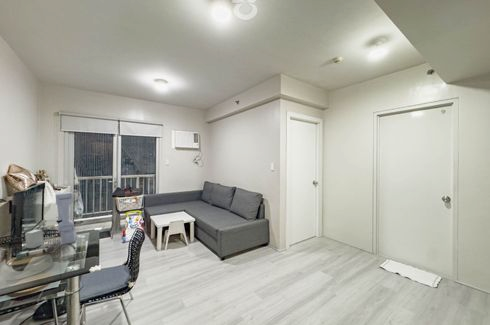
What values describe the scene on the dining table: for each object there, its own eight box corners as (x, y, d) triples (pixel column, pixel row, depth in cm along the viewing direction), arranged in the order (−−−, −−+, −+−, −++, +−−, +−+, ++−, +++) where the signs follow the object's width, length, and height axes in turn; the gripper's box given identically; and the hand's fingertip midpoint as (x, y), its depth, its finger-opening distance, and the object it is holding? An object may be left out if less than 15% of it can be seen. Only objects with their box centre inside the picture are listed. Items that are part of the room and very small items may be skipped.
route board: (58, 248, 158) (58, 244, 158) (53, 253, 150) (52, 248, 150) (22, 255, 149) (21, 250, 149) (14, 261, 141) (13, 256, 141)
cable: (54, 249, 155) (54, 246, 154) (52, 251, 152) (52, 247, 152) (22, 255, 147) (22, 252, 147) (19, 257, 144) (19, 253, 144)
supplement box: (44, 244, 168) (42, 229, 167) (34, 248, 160) (32, 232, 160) (36, 244, 169) (35, 229, 168) (26, 248, 161) (24, 232, 161)
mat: (63, 244, 165) (62, 244, 164) (59, 247, 159) (59, 247, 159) (26, 251, 155) (26, 251, 155) (21, 255, 150) (21, 254, 150)
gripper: (59, 209, 183) (61, 224, 184) (52, 214, 170) (54, 229, 171) (69, 208, 186) (71, 223, 187) (63, 212, 173) (64, 228, 174)
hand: (63, 226), depth 179 cm, fingers open, 7 cm apart
